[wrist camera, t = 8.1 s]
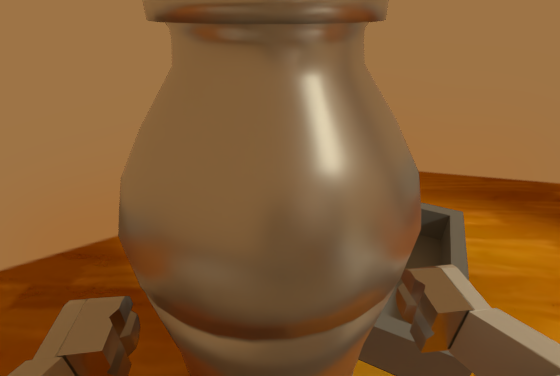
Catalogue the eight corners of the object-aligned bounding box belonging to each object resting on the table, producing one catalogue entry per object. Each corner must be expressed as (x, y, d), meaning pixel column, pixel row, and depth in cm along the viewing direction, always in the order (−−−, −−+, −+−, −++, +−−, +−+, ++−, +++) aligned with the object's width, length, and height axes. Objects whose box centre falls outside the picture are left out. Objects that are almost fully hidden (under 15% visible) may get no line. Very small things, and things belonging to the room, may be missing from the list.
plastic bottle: (197, 400, 16) (54, -89, 6) (311, 361, 18) (355, -66, 8) (213, 586, 11) (-758, -779, 1) (371, 505, 13) (751, -214, 3)
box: (450, 243, 27) (463, 211, 25) (454, 400, 16) (476, 365, 15) (306, 205, 32) (307, 177, 30) (236, 306, 21) (232, 271, 20)
